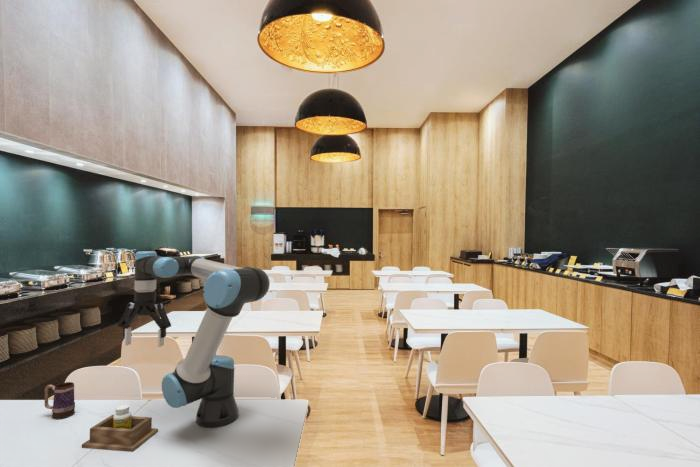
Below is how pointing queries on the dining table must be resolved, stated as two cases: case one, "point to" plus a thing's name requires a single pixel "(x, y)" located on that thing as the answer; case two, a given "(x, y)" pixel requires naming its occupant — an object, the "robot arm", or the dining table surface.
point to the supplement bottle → (122, 417)
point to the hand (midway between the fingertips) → (144, 345)
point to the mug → (61, 400)
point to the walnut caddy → (120, 434)
